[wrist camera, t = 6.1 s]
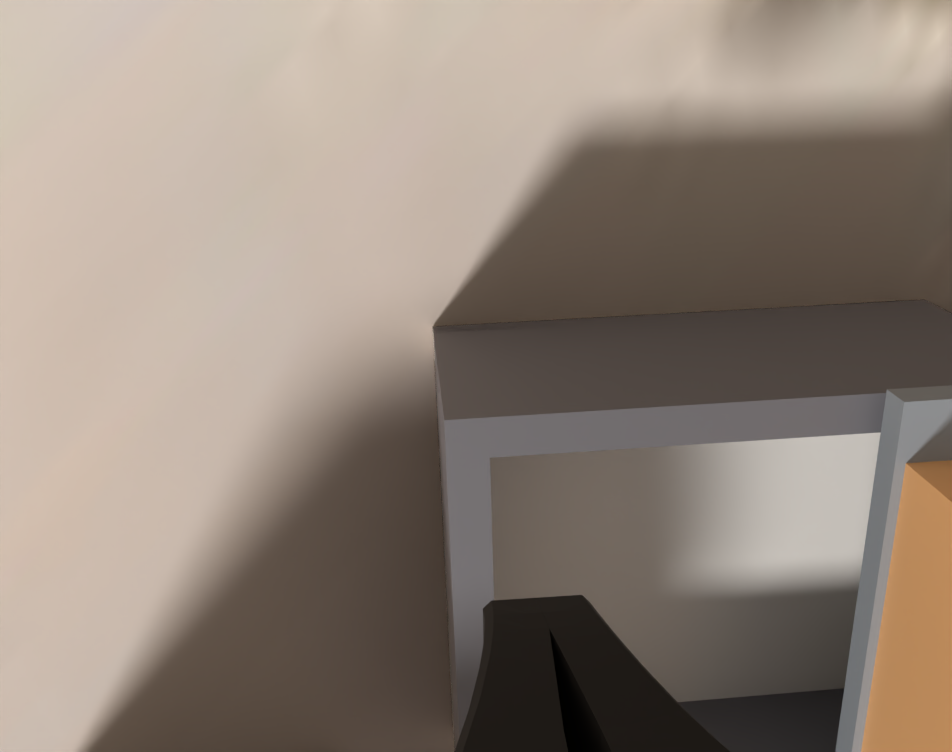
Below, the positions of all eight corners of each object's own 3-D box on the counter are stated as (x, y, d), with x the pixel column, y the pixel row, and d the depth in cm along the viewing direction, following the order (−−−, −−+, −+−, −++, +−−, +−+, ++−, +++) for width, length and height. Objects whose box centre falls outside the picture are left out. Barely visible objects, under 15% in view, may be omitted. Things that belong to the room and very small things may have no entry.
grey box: (864, 696, 26) (977, 856, 21) (453, 730, 25) (467, 906, 20) (924, 299, 22) (1085, 380, 17) (432, 326, 21) (444, 420, 16)
